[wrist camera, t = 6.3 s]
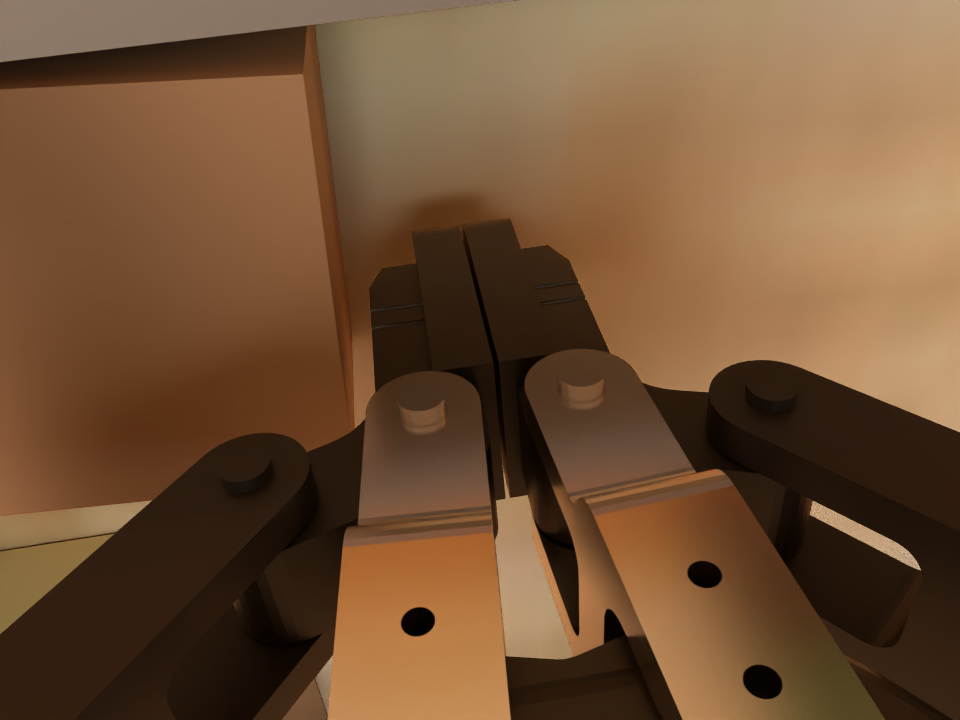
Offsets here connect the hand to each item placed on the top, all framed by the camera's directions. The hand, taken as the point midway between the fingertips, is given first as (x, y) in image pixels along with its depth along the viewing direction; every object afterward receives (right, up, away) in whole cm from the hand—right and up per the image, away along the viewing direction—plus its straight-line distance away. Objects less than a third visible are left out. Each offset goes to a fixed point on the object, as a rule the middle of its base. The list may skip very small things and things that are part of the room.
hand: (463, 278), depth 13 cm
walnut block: (-5, +1, +1) cm, 5 cm away
